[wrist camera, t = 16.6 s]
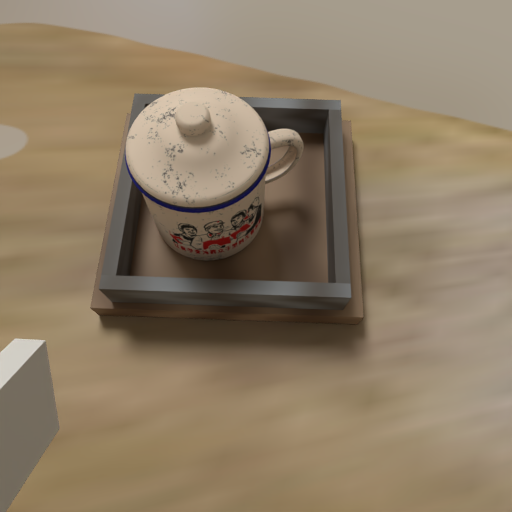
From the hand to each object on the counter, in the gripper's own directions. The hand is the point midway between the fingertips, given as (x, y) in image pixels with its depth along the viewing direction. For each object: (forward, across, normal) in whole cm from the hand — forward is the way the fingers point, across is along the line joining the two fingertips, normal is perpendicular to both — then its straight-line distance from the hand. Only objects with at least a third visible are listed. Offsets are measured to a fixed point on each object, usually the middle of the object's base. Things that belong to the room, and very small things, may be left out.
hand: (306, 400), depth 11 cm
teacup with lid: (+25, -5, -2) cm, 26 cm away
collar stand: (+27, -4, -3) cm, 27 cm away
